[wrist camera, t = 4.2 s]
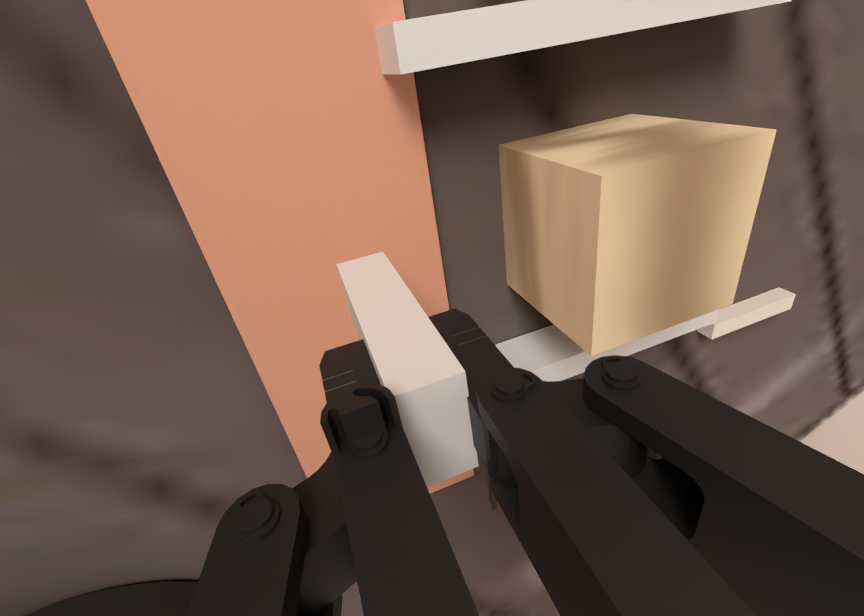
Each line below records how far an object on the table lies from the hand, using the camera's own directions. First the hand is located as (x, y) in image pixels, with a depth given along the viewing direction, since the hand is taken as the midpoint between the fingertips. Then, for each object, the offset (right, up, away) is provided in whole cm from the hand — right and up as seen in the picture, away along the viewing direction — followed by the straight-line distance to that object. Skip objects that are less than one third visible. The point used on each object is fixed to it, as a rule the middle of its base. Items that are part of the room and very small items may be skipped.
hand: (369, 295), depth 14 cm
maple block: (+8, +4, +5) cm, 10 cm away
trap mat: (-2, +1, +2) cm, 3 cm away
